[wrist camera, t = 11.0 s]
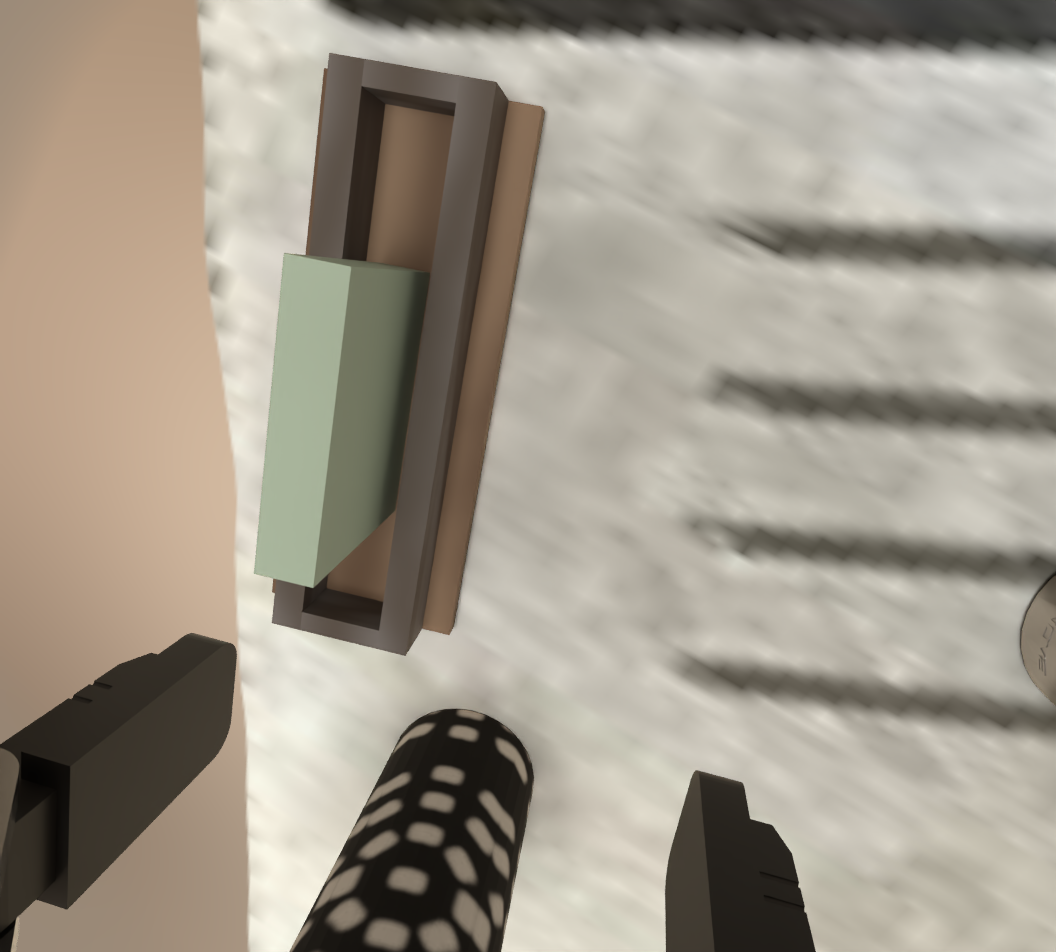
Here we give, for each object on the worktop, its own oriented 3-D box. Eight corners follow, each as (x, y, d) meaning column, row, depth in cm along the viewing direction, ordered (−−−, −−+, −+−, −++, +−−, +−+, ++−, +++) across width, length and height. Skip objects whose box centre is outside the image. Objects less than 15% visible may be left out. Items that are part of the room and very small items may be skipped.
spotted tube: (544, 726, 40) (465, 1122, 21) (522, 848, 43) (432, 1305, 23) (400, 694, 41) (199, 1049, 22) (386, 816, 43) (191, 1233, 24)
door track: (544, 112, 33) (533, 88, 29) (453, 626, 40) (434, 662, 36) (333, 74, 33) (294, 46, 30) (280, 585, 40) (243, 616, 37)
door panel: (430, 272, 34) (351, 266, 24) (394, 510, 37) (312, 588, 28) (381, 262, 34) (283, 253, 25) (350, 500, 37) (253, 573, 28)
